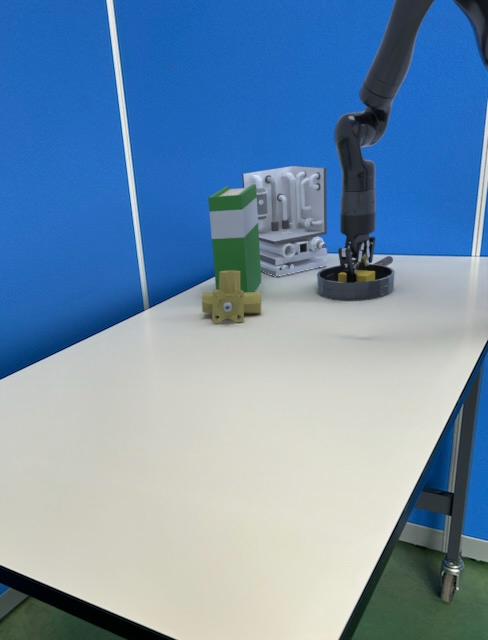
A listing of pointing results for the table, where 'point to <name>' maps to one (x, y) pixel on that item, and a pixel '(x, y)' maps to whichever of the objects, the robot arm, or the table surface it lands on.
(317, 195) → the grey pipe machine model
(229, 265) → the hardback book
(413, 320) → the table surface
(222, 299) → the ball valve
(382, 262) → the pan handle
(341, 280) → the sponge
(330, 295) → the pan
